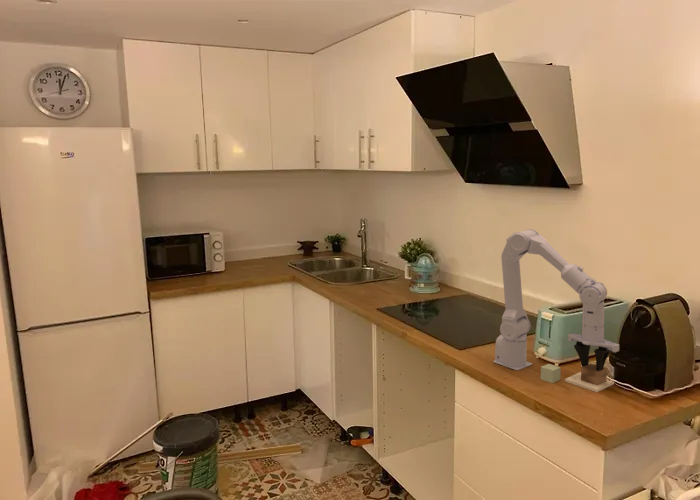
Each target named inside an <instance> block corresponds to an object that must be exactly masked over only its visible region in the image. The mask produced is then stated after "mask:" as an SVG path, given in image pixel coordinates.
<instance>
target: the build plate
mask: <svg viewBox="0 0 700 500" xmlns="http://www.w3.org/2000/svg"><path fill="white" fill-rule="evenodd" d="M564 382H565V383H569V384H572V385H575V386H577V387H580V388H584V389H586V390H590V391H592V392H595V393H599V392H600V391H603V390H605V389H607V388H608V387H611V386H612V385H615V384H614V383H613V382H612V381H609V380H608V379H607V381H606V382H604V383H602V384H599V385H595V384H591V383H588V382H585V381H582V380H581V371H579V372H578V373H574V374H573V375H570V376H569V377H566V378H564Z"/></svg>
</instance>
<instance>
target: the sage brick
mask: <svg viewBox="0 0 700 500" xmlns="http://www.w3.org/2000/svg"><path fill="white" fill-rule="evenodd" d="M561 370H562V369H561V366H557V365H554V364H551V363H546V364H545V365H542V366H540V380H542V381H545V382H548V383H551V384H555V383H556V382H558V381H561V374H562V373H561V372H562V371H561Z"/></svg>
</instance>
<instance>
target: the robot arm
mask: <svg viewBox="0 0 700 500" xmlns="http://www.w3.org/2000/svg"><path fill="white" fill-rule="evenodd" d="M526 254H529V255H539V256H541V258H543V259H544V260H545V261H546V262H548V263H550V265H552V266H553V267H554V268H555V269H557V271H559V272H560V277H561V279H562V281H564V282H565V283H566V285H568V286H569V287H570V288H571V289H572V290H573V291H575V292H576V293H577V294H578V296H579V299H580V301H581V302H582V317H581V319H582V321H581V323H582V325H581V328H582V330H581V334H577V333H570V334H568V335H567V336H568V338H567V340H568V342H575V344H574V346H573V348H574V349H575V351H576V353H577V355H578V356H579V357H578V358H579V360H580V363H581V367H583V366H586V365H588V364H590V361H589V360H590V350H591V347H596V349H594V351H593V352H594V355H595V365H596V370H597V371H600V370H602V369H603V367H604V366H605V363H606V361H607V358H608V357H609V355H610V354H611V352H612V353H617V352H620V344H619V343H616V342H612V341H610V340H608V339H605V301H604V300H606V298H607V296H608V290H607V288H606V286H605V285H604V283H602V282H600V281H597V280H596V279H595V278H592V277H591V276H590V275H588V273H586V272H585V271H584V270H583V269H584V267H582V266H581V265H577V264H575V263H574V264H573V263H569V262H568V261H567V260H566V259H565V258H564V257H563V256H562V255H561V254H560V253H559V252H558V251H557V250H556V249H555V248H554V247H553V246H552V245H551V244H550V243H549V242H548V241H547V239H546V238H545V237H544V236H543V235H542V234H539V232H538V231H536V229H534V228H533V229H532V228H527V229H526V230H522V231H517V232H513V233H512V234H510V236H509V237H507V239H506V244H505V245H504V248H503V250H502V253H501V257H500V258H501V268H502V269H501V270H502V282H503V294H504V307H505V310H504V312H503V315H501V324H500V326H499V331H500V334H499V336H498V337H496V339H495V345H494V346H495V347H494V355H495V357H494V360H493V363H494V364H498V365H501V366H503V367H505V368H509V369H512V370H514V371H519V370H522V369H525V368H527V367H530V366H532V365H533V363H532V362H530V361H527V352H528V351H527V348H528V345H527V344H528V337H527V333H528V332H529V331H530V329H531V322H530V320H529V318H528V313H527V311H526V310H525V309H524V303H523V291H522V290H523V289H522V278H521V277H522V276H521V266H520V265H521V264H520V263H521V262H520V259H522V258H523V257H524V256H525V255H526Z"/></svg>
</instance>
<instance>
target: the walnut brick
mask: <svg viewBox="0 0 700 500" xmlns="http://www.w3.org/2000/svg"><path fill="white" fill-rule="evenodd" d="M580 372H581V380H582V381H585V382H588V383H591V384H595V385H599V384H602V383H604V382H606V381H607V378H608V368H607V367H603V369H602V370H600V371H597V370H596V363H589V364H588V365H586V366H583V367H582V366H581V369H580Z"/></svg>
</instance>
